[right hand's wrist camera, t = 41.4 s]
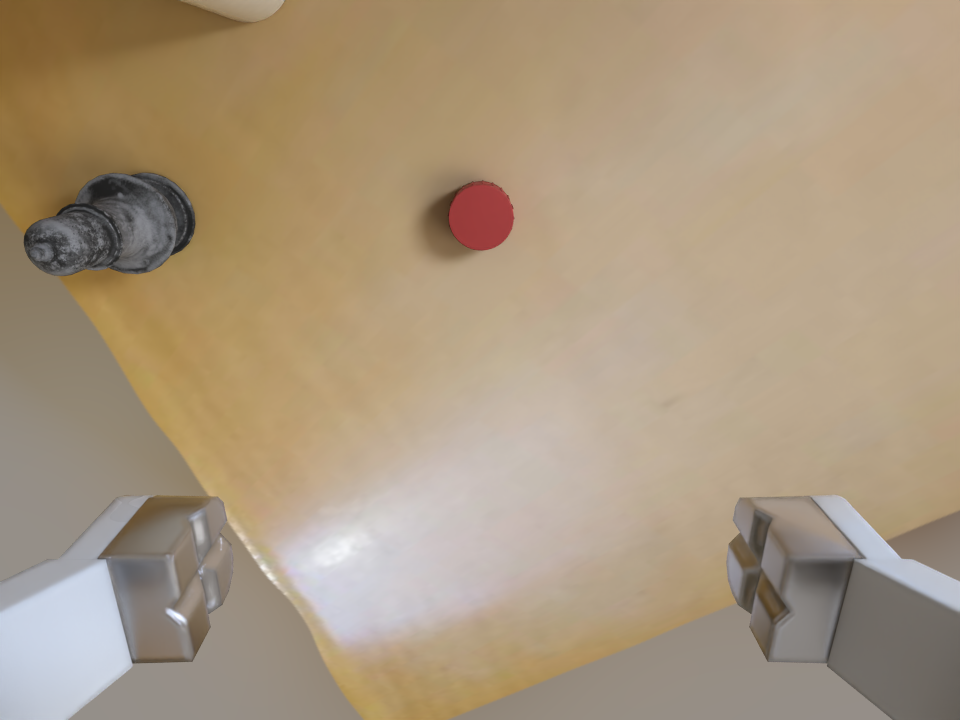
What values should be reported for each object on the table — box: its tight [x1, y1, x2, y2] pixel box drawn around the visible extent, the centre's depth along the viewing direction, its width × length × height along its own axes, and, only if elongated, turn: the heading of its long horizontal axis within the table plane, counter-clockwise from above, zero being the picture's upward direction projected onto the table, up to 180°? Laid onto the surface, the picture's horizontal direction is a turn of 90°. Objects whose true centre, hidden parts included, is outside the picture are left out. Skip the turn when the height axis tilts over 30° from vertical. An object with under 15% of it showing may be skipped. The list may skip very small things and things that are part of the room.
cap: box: [448, 180, 514, 250], centre depth 40 cm, size 4×4×2 cm
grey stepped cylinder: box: [24, 173, 195, 276], centre depth 36 cm, size 6×6×12 cm
